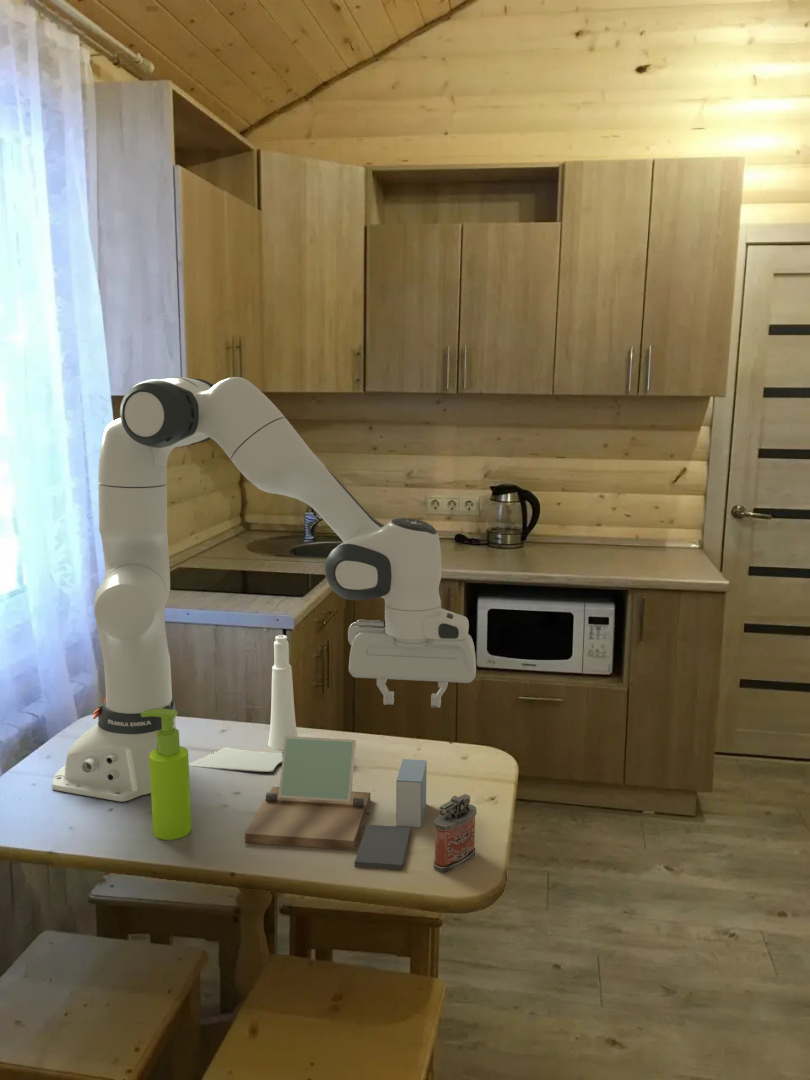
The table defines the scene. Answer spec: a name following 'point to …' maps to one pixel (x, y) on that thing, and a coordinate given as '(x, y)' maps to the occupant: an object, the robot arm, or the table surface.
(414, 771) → the grey rectangular prism
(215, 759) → the kitchen cleaver
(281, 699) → the cosmetic bottle
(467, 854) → the lighter
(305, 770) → the tile
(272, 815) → the hinge board
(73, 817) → the table surface
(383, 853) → the pad
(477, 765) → the table surface
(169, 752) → the soap dispenser
